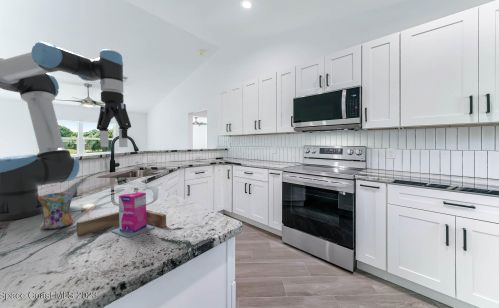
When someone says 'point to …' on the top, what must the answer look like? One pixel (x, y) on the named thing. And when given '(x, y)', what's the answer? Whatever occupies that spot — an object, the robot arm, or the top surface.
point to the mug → (56, 210)
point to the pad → (130, 234)
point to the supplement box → (132, 211)
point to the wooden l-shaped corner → (116, 222)
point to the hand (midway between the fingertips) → (113, 147)
